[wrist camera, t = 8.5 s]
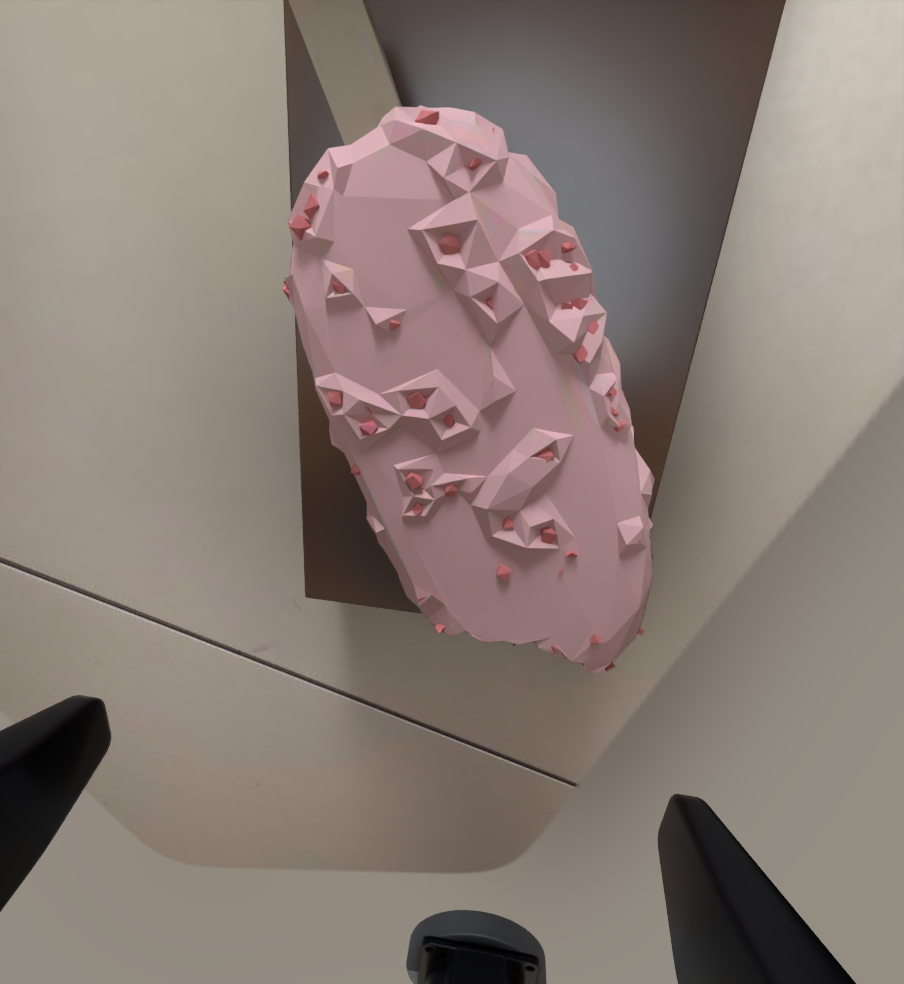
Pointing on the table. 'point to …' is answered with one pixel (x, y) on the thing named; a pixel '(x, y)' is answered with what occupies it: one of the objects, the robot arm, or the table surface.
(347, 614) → the table surface
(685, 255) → the shelf
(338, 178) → the ice cream bar
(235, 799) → the table surface
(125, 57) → the table surface
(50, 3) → the table surface
